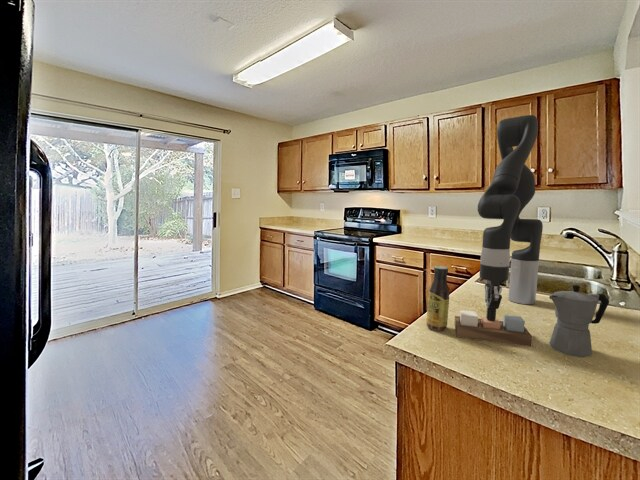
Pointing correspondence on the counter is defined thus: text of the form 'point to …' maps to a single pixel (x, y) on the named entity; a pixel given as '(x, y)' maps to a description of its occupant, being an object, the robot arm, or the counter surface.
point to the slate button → (513, 323)
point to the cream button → (468, 318)
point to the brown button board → (492, 334)
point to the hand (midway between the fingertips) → (490, 319)
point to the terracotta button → (490, 323)
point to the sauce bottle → (438, 300)
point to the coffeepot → (575, 321)
